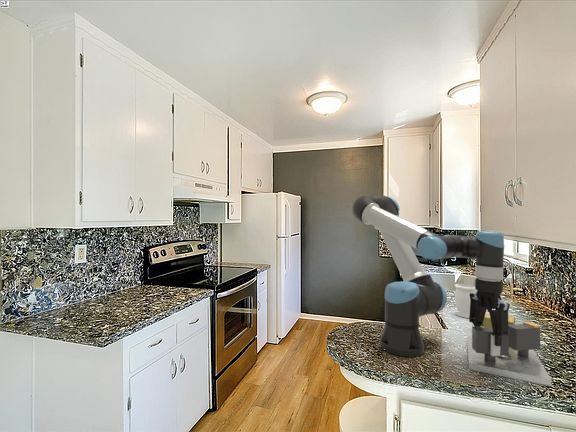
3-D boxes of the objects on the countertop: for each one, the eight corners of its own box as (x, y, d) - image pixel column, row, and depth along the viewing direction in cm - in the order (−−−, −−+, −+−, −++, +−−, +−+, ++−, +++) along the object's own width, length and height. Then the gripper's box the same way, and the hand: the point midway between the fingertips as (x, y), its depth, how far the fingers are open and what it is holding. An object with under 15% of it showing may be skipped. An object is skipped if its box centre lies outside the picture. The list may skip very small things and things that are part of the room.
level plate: (468, 369, 95) (468, 360, 95) (466, 342, 116) (466, 335, 116) (551, 386, 85) (551, 377, 85) (532, 354, 106) (532, 346, 106)
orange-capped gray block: (516, 358, 99) (516, 327, 99) (506, 353, 103) (505, 323, 103) (540, 356, 100) (540, 325, 100) (528, 351, 104) (528, 322, 104)
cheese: (484, 334, 125) (484, 310, 125) (517, 341, 118) (516, 315, 118) (480, 342, 117) (480, 316, 117) (515, 350, 110) (515, 322, 110)
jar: (473, 313, 154) (472, 283, 154) (484, 319, 144) (484, 288, 144) (451, 312, 155) (451, 283, 155) (460, 319, 145) (460, 287, 145)
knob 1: (476, 360, 97) (476, 328, 97) (472, 355, 100) (472, 324, 101) (508, 364, 94) (508, 331, 95) (503, 358, 98) (503, 327, 98)
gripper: (525, 285, 89) (523, 364, 89) (476, 273, 108) (475, 339, 108) (503, 285, 88) (501, 365, 88) (457, 273, 107) (456, 339, 106)
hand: (487, 350), depth 98 cm, fingers closed on knob 1, 6 cm apart
